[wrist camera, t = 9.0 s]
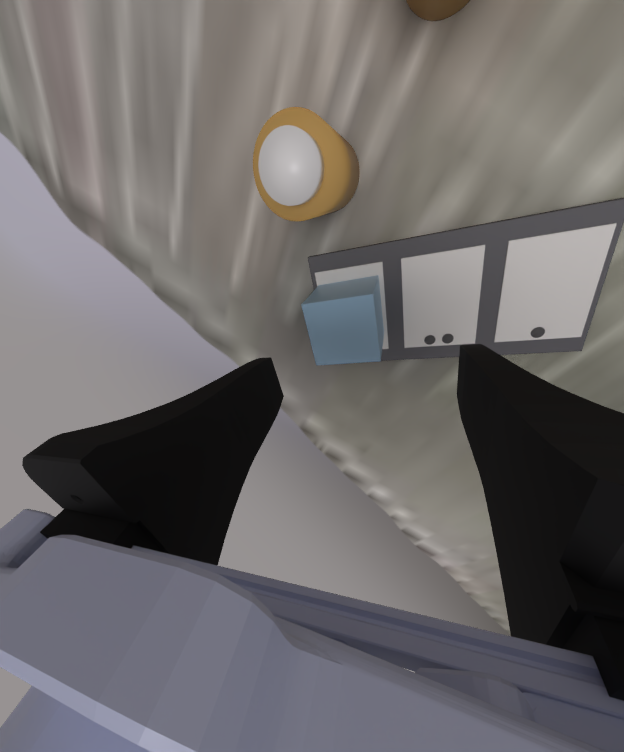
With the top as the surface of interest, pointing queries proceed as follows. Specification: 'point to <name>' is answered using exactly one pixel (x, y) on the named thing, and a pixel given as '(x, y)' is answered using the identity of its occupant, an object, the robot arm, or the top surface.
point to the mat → (488, 282)
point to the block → (345, 321)
